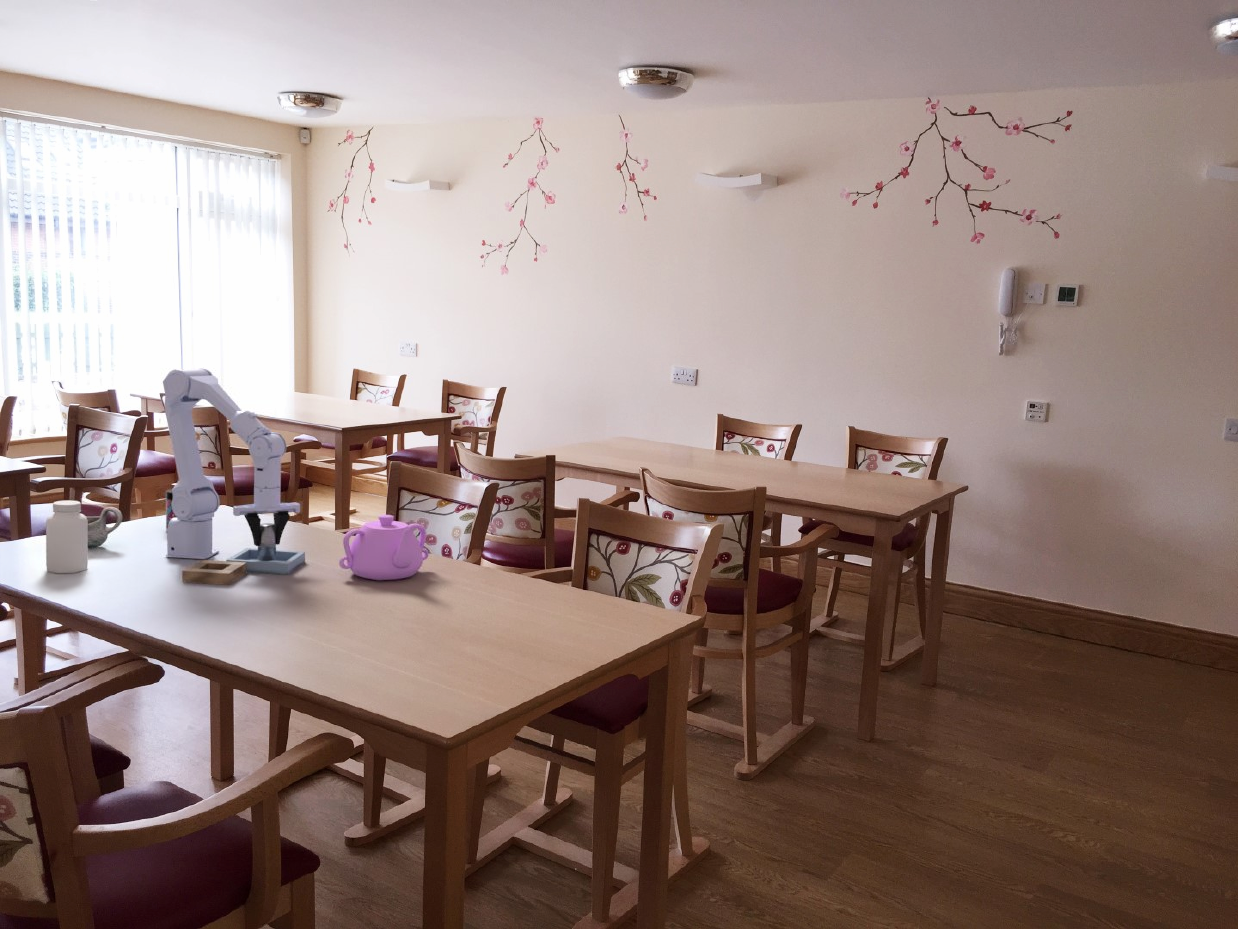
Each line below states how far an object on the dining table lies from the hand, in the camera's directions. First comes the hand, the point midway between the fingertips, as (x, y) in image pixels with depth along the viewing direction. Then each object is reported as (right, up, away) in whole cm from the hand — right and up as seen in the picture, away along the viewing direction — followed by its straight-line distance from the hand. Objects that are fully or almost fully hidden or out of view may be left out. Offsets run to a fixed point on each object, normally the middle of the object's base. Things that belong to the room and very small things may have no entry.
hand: (266, 544), depth 231 cm
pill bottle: (-39, -5, -12) cm, 41 cm away
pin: (0, -3, 0) cm, 3 cm away
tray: (0, -5, +1) cm, 5 cm away
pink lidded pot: (+29, -8, -1) cm, 30 cm away
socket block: (-7, -6, -11) cm, 15 cm away
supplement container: (-34, +1, +32) cm, 46 cm away
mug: (-44, -2, +8) cm, 45 cm away
